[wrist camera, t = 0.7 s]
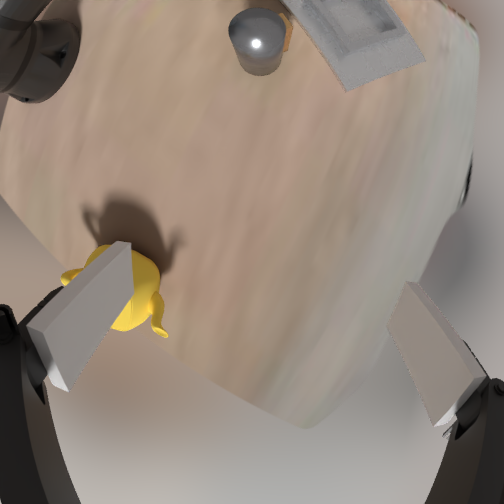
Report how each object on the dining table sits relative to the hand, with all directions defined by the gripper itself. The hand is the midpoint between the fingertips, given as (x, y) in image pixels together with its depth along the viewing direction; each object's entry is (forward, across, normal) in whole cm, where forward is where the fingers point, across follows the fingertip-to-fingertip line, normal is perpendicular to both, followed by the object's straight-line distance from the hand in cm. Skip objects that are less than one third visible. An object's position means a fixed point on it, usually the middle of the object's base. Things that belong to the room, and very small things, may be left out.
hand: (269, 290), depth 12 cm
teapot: (+25, -18, -16) cm, 34 cm away
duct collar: (+25, +8, +26) cm, 36 cm away
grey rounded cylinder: (+25, -3, +17) cm, 30 cm away
